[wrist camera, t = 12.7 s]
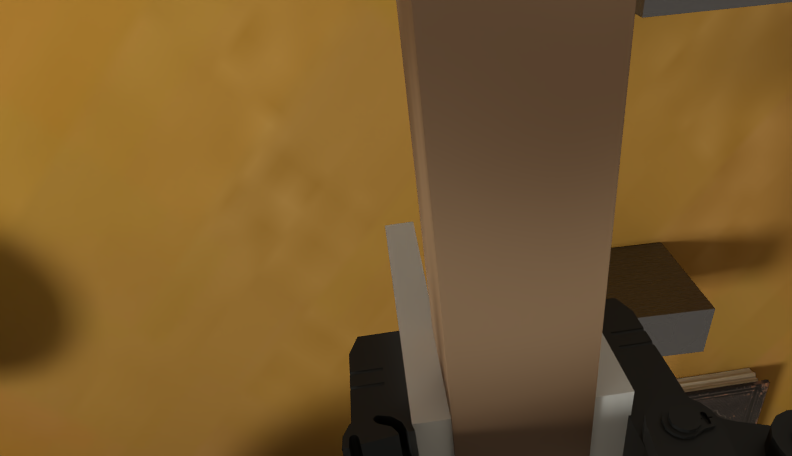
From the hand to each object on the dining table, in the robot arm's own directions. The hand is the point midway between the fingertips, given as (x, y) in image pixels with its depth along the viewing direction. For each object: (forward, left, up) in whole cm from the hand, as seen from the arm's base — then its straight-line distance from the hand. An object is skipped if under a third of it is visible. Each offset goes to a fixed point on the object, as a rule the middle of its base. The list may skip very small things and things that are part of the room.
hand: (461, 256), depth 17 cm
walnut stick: (0, 0, +4) cm, 4 cm away
